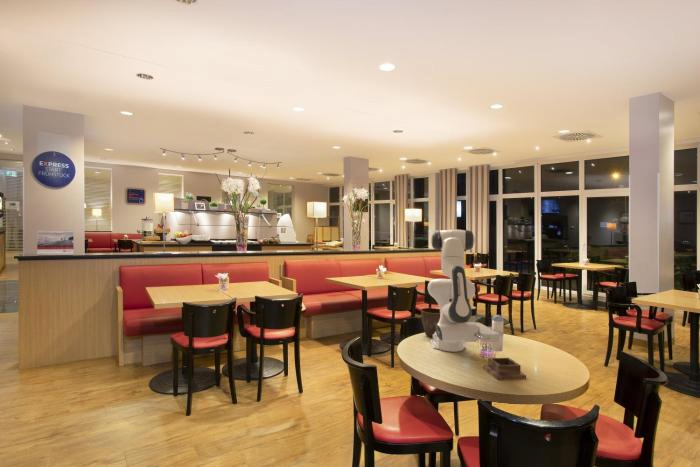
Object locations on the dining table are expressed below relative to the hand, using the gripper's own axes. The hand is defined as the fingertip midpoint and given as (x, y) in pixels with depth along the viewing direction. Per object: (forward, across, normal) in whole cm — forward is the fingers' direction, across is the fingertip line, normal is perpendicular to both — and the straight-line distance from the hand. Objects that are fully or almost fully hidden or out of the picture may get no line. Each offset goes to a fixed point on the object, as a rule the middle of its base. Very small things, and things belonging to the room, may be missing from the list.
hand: (499, 331), depth 183 cm
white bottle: (-1, 0, +8) cm, 9 cm away
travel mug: (+12, +62, +20) cm, 66 cm away
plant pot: (-12, +62, +20) cm, 66 cm away
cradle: (+3, 0, +20) cm, 20 cm away
